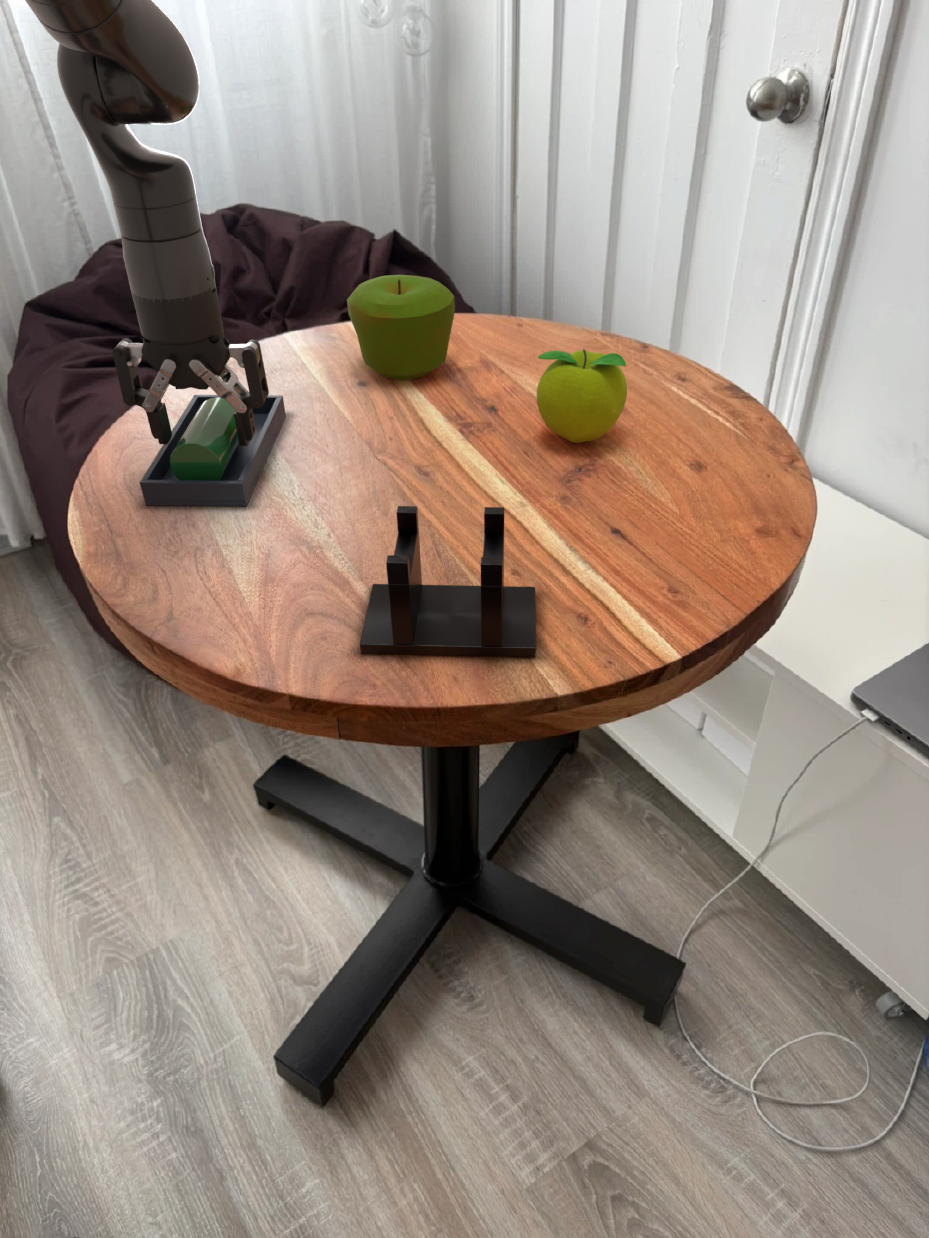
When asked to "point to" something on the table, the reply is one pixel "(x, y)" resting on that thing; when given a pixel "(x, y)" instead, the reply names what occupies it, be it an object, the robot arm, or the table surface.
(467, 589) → the rack
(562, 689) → the table surface
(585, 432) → the fruit
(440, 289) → the apple
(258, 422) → the tray
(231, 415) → the green bottle
